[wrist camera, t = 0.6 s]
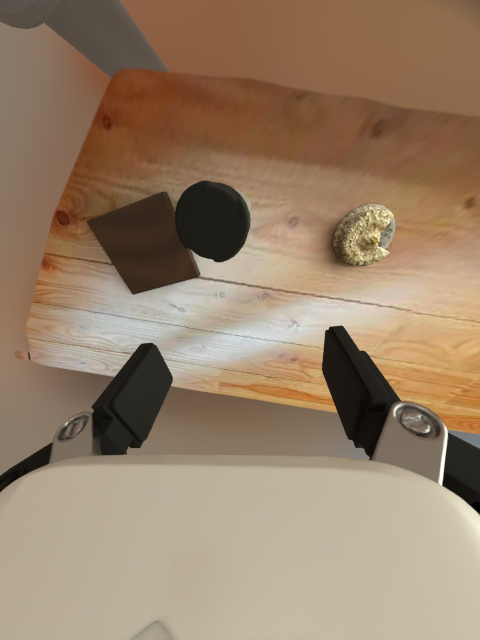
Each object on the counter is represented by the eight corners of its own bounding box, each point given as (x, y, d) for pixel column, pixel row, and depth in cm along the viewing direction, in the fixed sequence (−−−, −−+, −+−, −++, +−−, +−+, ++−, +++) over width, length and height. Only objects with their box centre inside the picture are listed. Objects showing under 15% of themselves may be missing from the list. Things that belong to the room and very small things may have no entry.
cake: (335, 270, 38) (342, 281, 34) (327, 217, 33) (335, 221, 29) (393, 254, 35) (411, 263, 30) (395, 192, 30) (415, 192, 26)
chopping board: (92, 220, 36) (86, 221, 34) (166, 191, 32) (163, 191, 31) (136, 291, 43) (132, 294, 42) (200, 274, 40) (198, 276, 39)
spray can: (222, 180, 31) (182, 160, 14) (259, 201, 32) (262, 206, 15) (208, 221, 34) (163, 244, 18) (242, 239, 36) (229, 276, 19)
